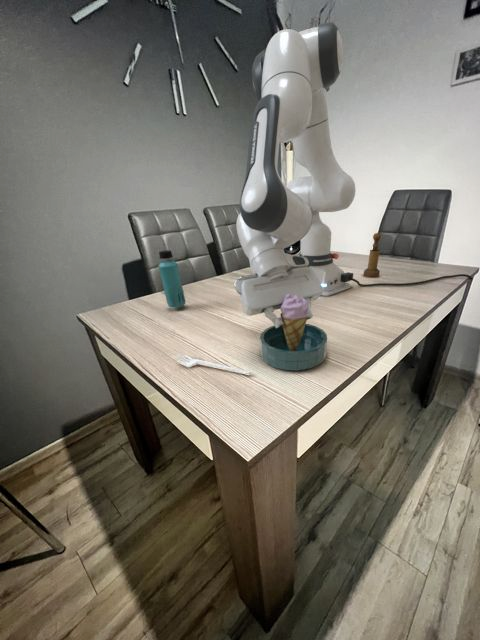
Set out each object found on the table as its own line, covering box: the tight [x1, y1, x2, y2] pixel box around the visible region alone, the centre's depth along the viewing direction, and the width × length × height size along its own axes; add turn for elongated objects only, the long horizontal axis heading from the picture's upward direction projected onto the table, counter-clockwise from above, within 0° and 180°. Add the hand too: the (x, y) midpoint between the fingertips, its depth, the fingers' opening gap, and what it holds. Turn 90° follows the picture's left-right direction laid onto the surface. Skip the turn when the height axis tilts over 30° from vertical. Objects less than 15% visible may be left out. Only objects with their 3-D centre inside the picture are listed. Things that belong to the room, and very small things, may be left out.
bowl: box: [259, 323, 328, 371], centre depth 65 cm, size 16×16×5 cm
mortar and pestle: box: [363, 232, 382, 279], centre depth 119 cm, size 7×6×18 cm
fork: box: [172, 351, 252, 376], centre depth 63 cm, size 3×20×2 cm, turn 66°
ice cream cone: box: [280, 294, 308, 351], centre depth 63 cm, size 7×6×15 cm
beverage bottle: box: [158, 249, 186, 308], centre depth 94 cm, size 6×7×20 cm
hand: (294, 322), depth 62 cm, fingers open, 6 cm apart
